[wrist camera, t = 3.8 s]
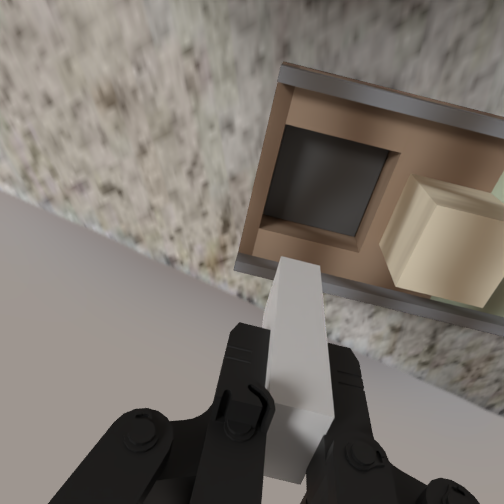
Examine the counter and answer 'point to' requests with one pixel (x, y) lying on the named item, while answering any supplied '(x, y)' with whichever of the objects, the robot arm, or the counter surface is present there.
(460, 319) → the trap track
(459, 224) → the block
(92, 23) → the counter surface
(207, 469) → the robot arm
